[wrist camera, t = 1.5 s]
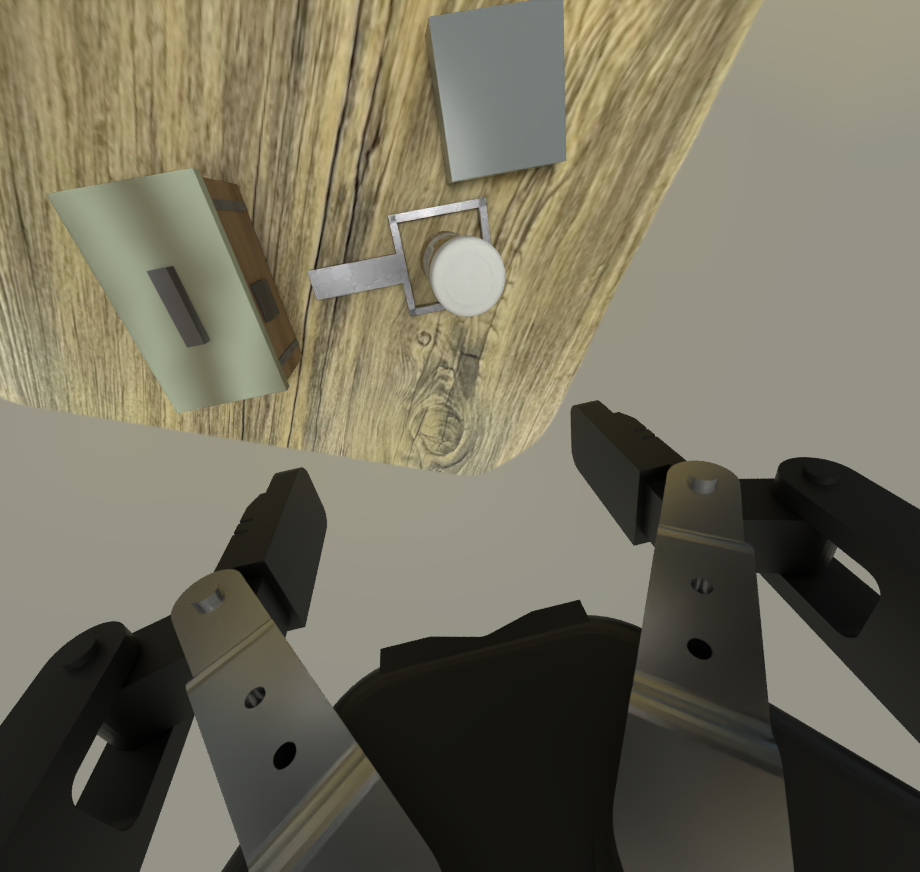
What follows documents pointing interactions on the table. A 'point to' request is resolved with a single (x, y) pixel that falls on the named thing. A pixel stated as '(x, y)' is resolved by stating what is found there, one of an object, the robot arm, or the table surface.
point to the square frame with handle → (388, 262)
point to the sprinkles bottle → (463, 272)
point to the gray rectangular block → (499, 88)
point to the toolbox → (186, 283)
